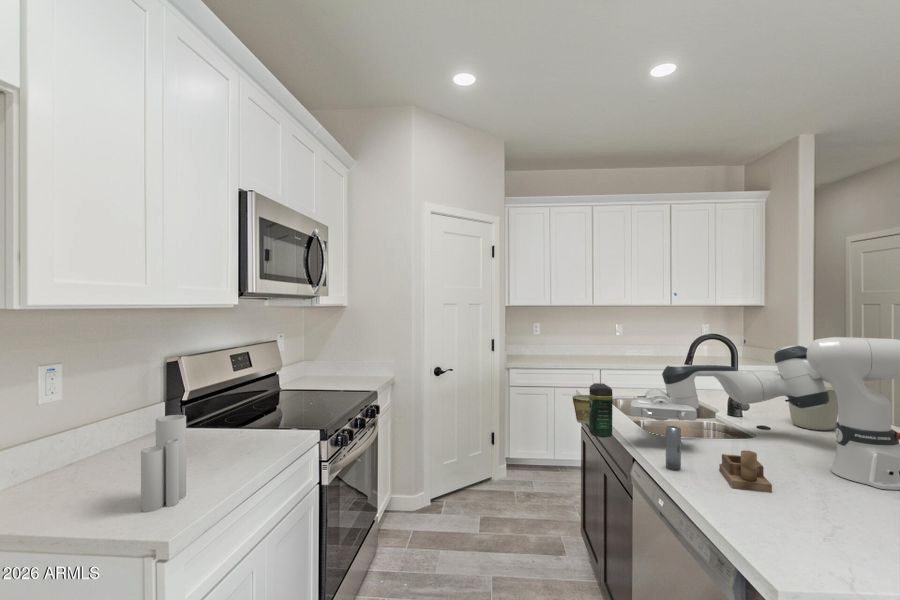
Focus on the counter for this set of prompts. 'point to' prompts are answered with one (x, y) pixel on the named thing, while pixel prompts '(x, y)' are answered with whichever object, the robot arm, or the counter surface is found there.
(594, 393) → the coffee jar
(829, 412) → the beige round tub
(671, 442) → the grey metal pin
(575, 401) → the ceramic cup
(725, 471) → the walnut housing
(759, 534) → the counter surface
